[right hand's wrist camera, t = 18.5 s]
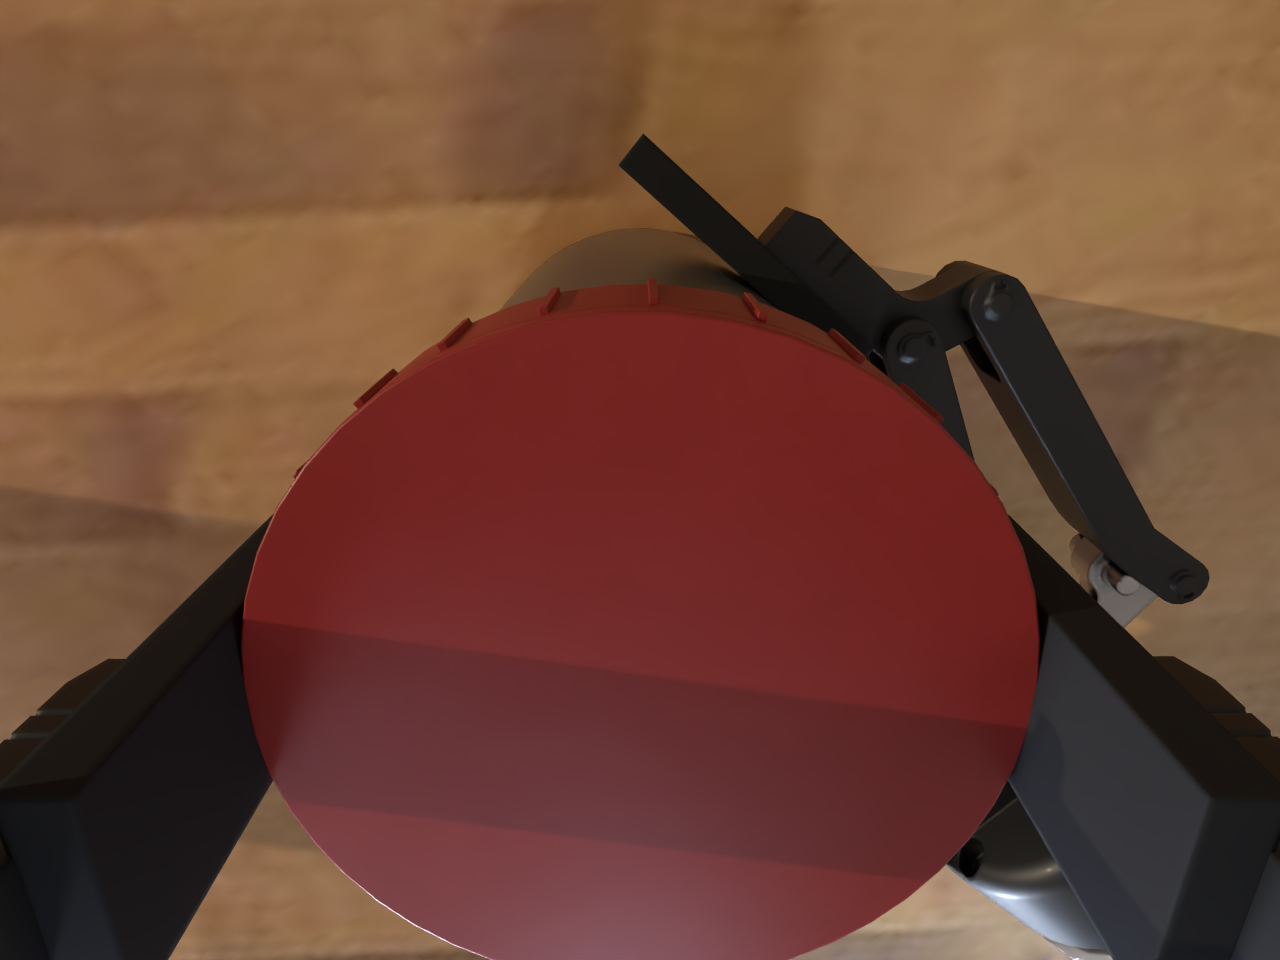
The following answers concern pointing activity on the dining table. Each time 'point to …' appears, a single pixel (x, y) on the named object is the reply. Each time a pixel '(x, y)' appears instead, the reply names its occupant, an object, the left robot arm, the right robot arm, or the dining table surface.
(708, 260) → the jar
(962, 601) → the lid
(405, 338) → the dining table surface
